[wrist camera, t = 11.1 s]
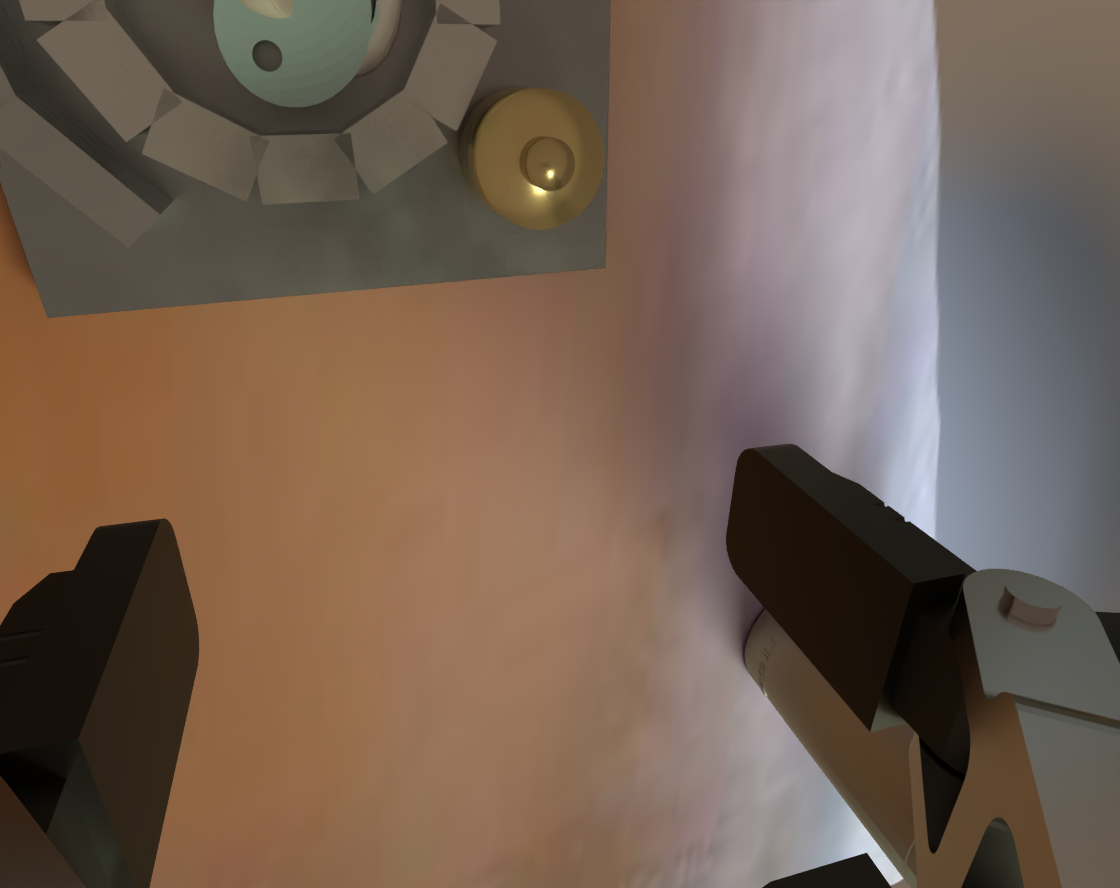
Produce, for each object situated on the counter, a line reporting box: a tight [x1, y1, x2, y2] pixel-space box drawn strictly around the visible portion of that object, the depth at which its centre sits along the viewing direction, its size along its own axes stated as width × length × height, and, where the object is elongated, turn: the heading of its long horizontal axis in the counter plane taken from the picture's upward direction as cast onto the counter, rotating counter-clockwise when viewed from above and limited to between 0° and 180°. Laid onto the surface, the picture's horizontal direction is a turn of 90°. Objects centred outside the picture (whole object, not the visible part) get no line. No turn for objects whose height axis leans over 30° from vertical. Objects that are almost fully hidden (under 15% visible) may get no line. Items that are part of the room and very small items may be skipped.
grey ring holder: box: [0, 0, 610, 318], centre depth 21 cm, size 20×18×6 cm
